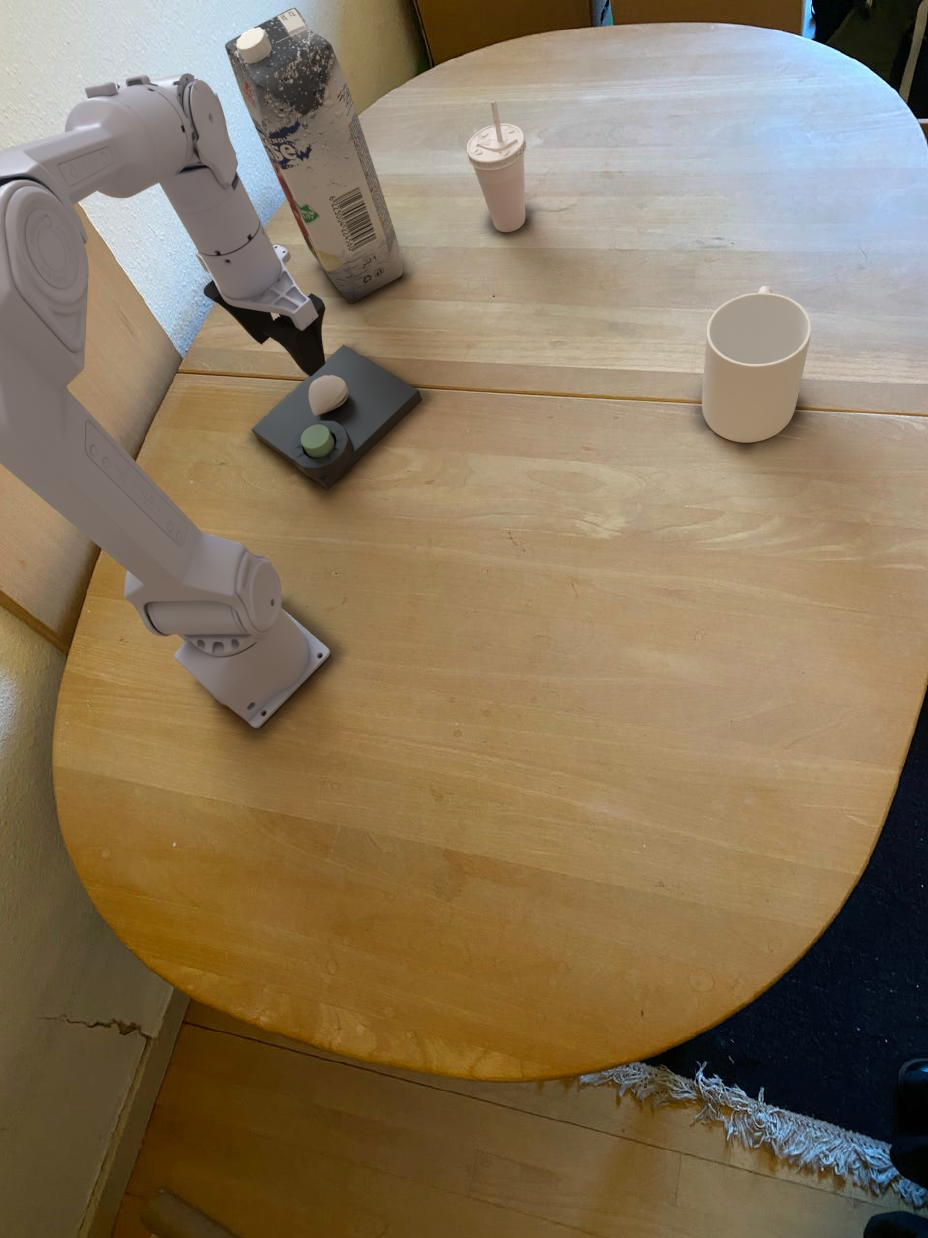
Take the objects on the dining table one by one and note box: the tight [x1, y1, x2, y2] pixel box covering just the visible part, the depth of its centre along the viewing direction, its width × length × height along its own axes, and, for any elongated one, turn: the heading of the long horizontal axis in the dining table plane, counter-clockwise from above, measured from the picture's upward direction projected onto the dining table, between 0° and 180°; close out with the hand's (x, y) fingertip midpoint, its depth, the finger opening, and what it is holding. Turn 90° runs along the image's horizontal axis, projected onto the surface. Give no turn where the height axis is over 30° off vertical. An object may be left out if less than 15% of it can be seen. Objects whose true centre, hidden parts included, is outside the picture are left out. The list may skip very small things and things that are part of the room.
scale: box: [251, 344, 423, 491], centre depth 87 cm, size 14×12×3 cm
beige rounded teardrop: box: [309, 375, 349, 416], centre depth 86 cm, size 4×5×2 cm
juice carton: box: [224, 7, 404, 304], centre depth 86 cm, size 9×10×27 cm
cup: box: [701, 285, 813, 444], centre depth 74 cm, size 8×12×10 cm
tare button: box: [301, 425, 334, 458], centre depth 83 cm, size 3×3×2 cm
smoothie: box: [466, 99, 527, 233], centre depth 90 cm, size 6×6×14 cm
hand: (291, 352), depth 80 cm, fingers open, 7 cm apart
